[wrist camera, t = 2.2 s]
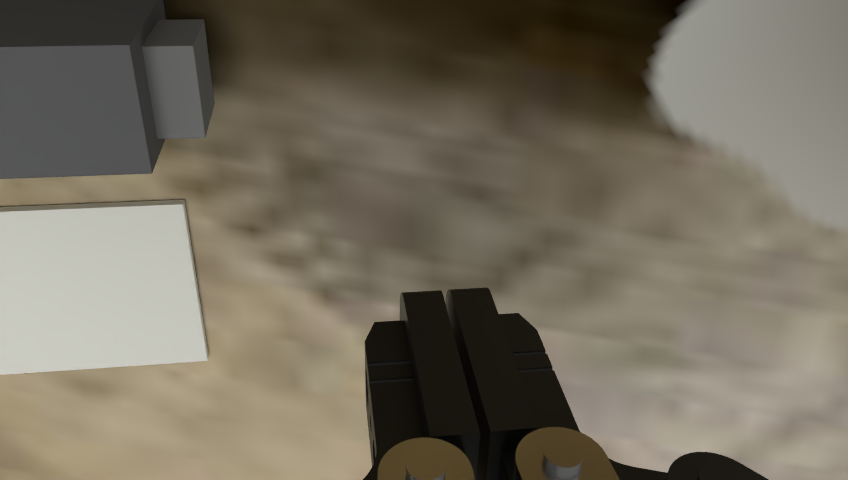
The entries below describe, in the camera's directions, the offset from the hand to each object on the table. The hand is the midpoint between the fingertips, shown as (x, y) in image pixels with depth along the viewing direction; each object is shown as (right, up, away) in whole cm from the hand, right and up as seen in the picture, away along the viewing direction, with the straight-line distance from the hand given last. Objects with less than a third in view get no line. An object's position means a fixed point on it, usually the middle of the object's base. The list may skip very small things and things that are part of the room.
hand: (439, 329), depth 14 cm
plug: (-14, +8, +13) cm, 21 cm away
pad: (-17, -1, +18) cm, 24 cm away
